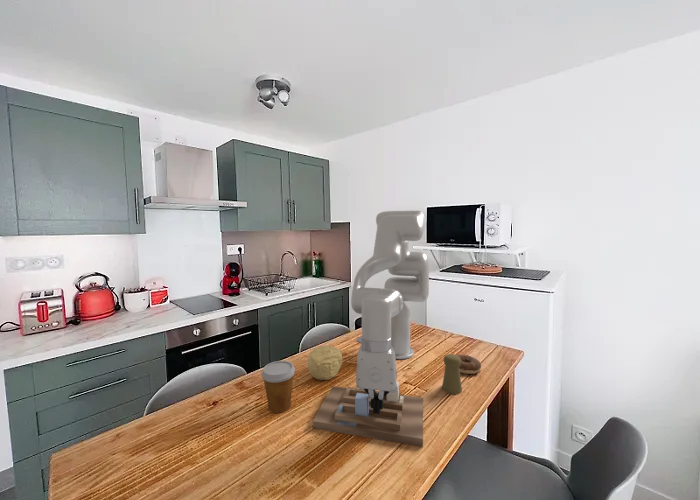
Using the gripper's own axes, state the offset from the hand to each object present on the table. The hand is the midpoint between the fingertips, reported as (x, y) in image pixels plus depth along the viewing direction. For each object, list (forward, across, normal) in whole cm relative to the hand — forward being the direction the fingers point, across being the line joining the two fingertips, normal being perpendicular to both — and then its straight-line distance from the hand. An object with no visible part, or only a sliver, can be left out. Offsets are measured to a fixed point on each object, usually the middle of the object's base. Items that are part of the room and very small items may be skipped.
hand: (377, 410), depth 77 cm
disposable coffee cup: (+5, -29, +2) cm, 30 cm away
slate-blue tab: (+2, -4, 0) cm, 5 cm away
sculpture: (+5, -22, +22) cm, 32 cm away
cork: (+5, +21, +23) cm, 31 cm away
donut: (+5, +27, +38) cm, 47 cm away
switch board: (+4, -2, +4) cm, 6 cm away
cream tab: (+2, +3, +8) cm, 9 cm away
